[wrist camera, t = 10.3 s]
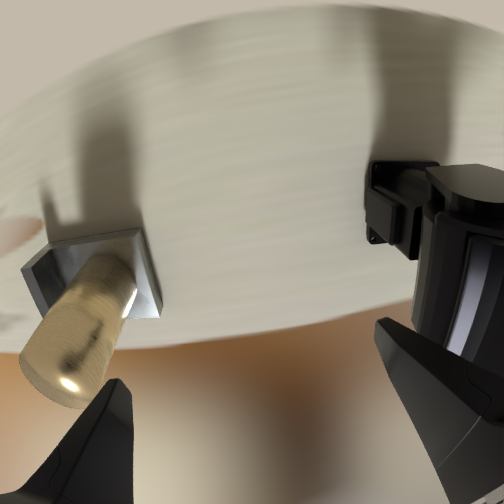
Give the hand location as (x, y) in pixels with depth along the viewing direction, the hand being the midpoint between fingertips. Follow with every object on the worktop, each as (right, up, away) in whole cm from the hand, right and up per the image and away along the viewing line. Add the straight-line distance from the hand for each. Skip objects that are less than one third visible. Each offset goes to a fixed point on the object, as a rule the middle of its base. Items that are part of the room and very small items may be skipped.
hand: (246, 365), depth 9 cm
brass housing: (-11, +1, +12) cm, 16 cm away
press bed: (-12, +2, +13) cm, 18 cm away
